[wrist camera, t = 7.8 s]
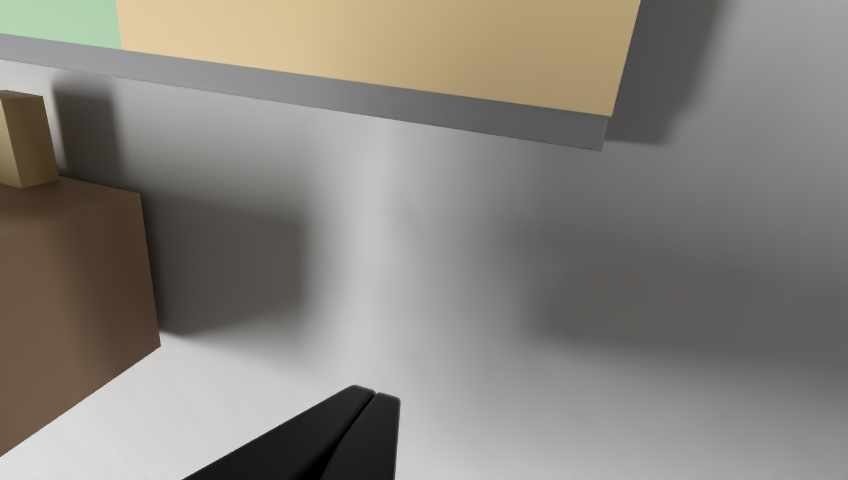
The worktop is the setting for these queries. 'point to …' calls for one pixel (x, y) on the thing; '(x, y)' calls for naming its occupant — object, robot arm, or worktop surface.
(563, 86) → the tuner gauge
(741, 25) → the worktop surface
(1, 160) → the block
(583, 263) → the worktop surface
